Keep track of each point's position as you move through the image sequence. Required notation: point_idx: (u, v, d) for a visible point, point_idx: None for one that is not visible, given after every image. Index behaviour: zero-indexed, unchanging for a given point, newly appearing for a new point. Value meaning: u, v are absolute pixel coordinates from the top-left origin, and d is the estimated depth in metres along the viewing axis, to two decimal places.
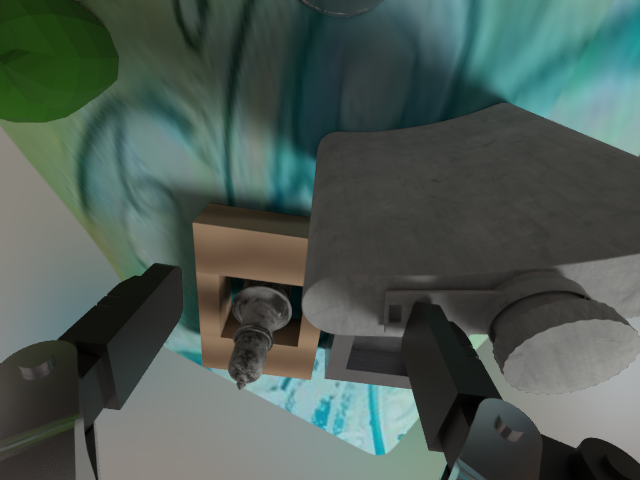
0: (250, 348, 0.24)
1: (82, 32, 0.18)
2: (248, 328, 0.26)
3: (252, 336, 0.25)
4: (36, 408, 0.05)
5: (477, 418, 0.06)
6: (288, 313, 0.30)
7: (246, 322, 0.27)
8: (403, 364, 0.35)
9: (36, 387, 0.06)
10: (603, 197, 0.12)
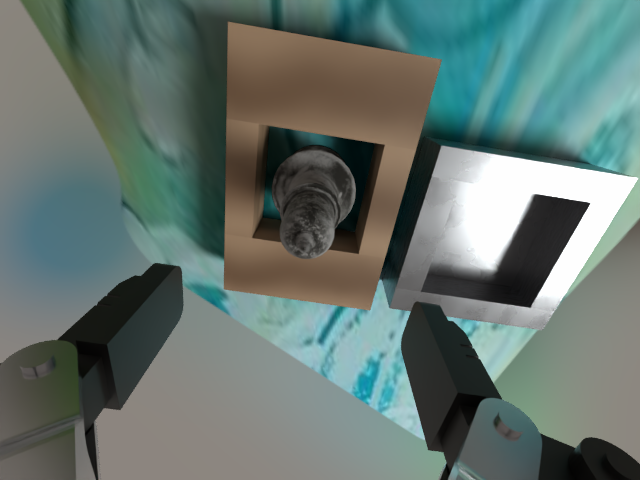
0: (315, 202, 0.16)
1: None
2: (306, 187, 0.17)
3: (314, 194, 0.17)
4: (36, 408, 0.05)
5: (476, 418, 0.06)
6: (350, 197, 0.21)
7: None
8: (493, 292, 0.26)
9: (37, 387, 0.06)
10: None
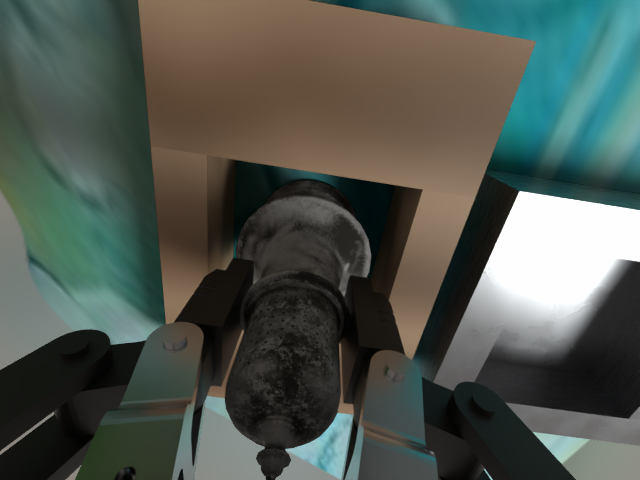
0: (299, 330, 0.08)
1: None
2: (286, 279, 0.09)
3: (299, 299, 0.09)
4: (191, 376, 0.06)
5: (370, 374, 0.07)
6: (362, 268, 0.13)
7: (276, 270, 0.10)
8: (568, 388, 0.18)
9: (169, 362, 0.06)
10: None
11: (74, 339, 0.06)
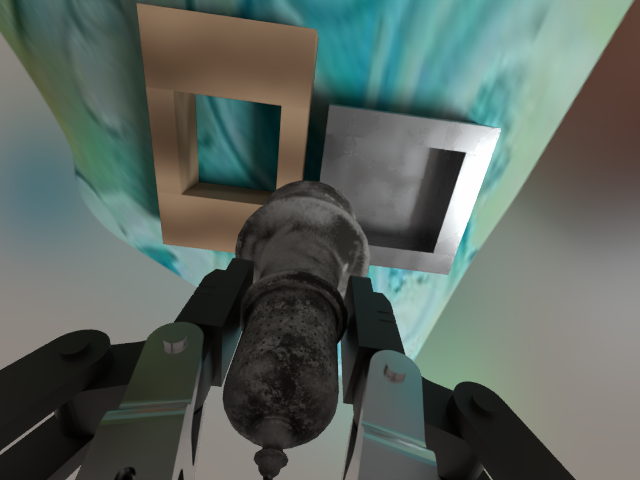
0: (297, 331, 0.08)
1: None
2: (285, 280, 0.09)
3: (297, 299, 0.09)
4: (190, 376, 0.06)
5: (370, 374, 0.07)
6: (361, 269, 0.13)
7: (274, 270, 0.10)
8: (404, 242, 0.29)
9: (170, 362, 0.06)
10: None
11: (73, 339, 0.06)
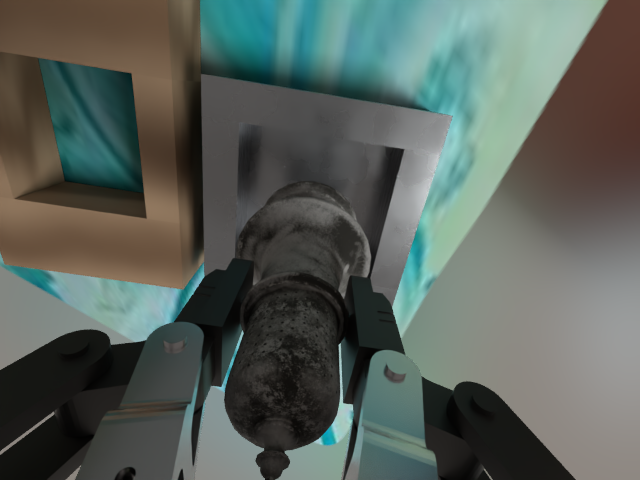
0: (299, 332, 0.08)
1: None
2: (286, 281, 0.09)
3: (299, 301, 0.09)
4: (190, 376, 0.06)
5: (370, 374, 0.07)
6: (362, 270, 0.13)
7: (275, 272, 0.10)
8: None
9: (170, 362, 0.06)
10: None
11: (73, 339, 0.06)
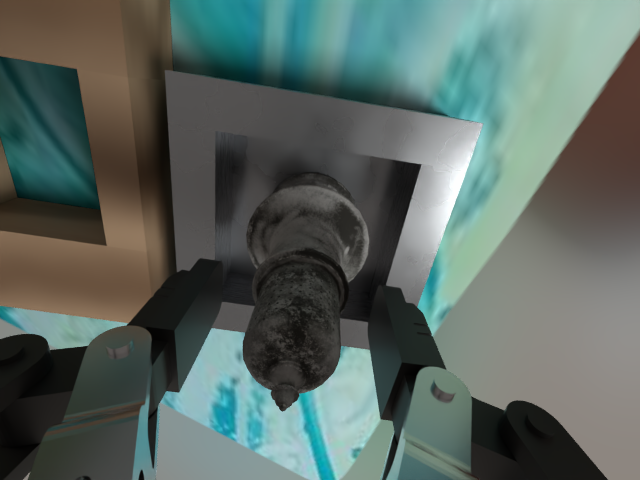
0: (306, 294, 0.09)
1: None
2: (294, 255, 0.10)
3: (305, 271, 0.10)
4: (129, 383, 0.06)
5: (416, 388, 0.07)
6: (361, 252, 0.15)
7: (284, 249, 0.11)
8: None
9: (116, 367, 0.06)
10: None
11: (4, 345, 0.06)
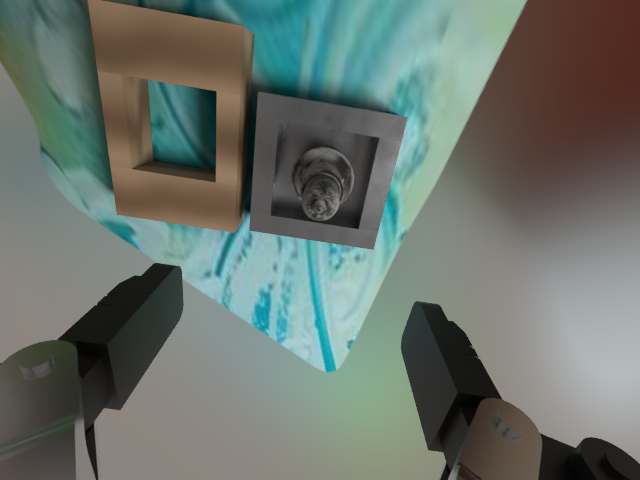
0: (326, 181, 0.23)
1: None
2: (319, 172, 0.24)
3: (324, 177, 0.24)
4: (36, 408, 0.05)
5: (477, 418, 0.06)
6: (350, 183, 0.29)
7: None
8: (336, 220, 0.33)
9: (37, 387, 0.06)
10: None
11: None
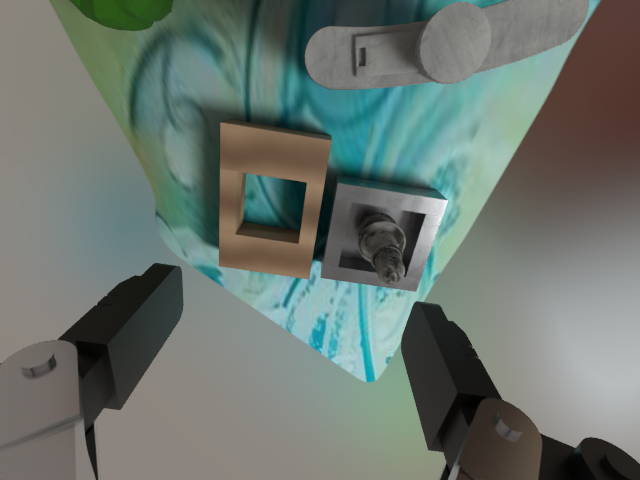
0: (395, 256, 0.32)
1: None
2: (387, 246, 0.34)
3: (391, 250, 0.33)
4: (37, 407, 0.05)
5: (477, 418, 0.06)
6: (402, 246, 0.38)
7: (380, 244, 0.35)
8: None
9: (37, 387, 0.06)
10: None
11: None
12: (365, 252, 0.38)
